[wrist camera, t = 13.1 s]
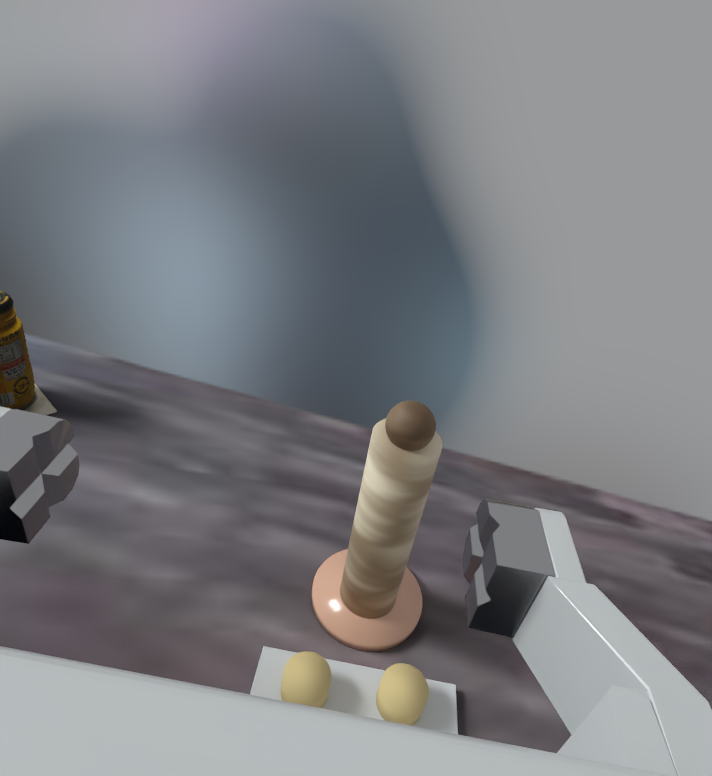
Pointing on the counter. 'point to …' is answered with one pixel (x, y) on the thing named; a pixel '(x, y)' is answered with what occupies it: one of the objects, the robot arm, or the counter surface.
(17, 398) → the condiment
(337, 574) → the coaster
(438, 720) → the mat
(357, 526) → the pepper mill
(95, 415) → the counter surface
